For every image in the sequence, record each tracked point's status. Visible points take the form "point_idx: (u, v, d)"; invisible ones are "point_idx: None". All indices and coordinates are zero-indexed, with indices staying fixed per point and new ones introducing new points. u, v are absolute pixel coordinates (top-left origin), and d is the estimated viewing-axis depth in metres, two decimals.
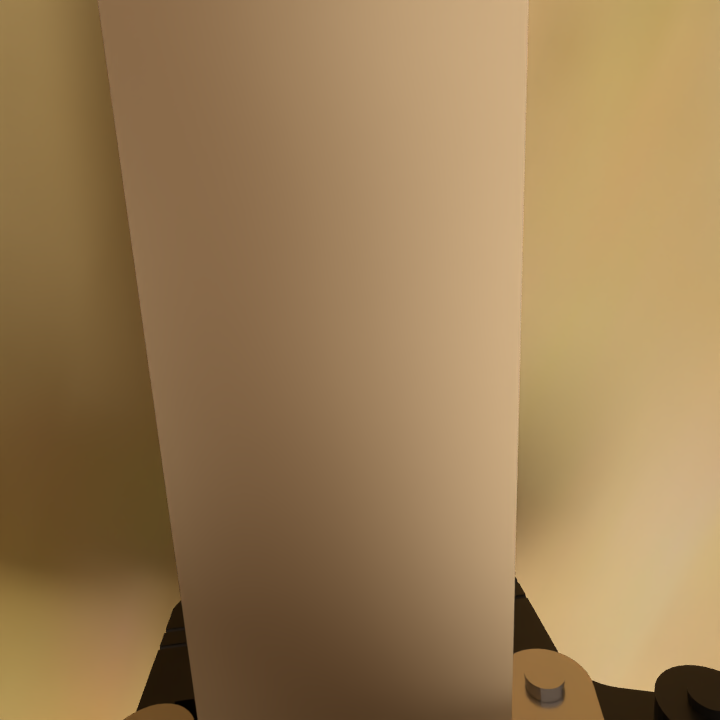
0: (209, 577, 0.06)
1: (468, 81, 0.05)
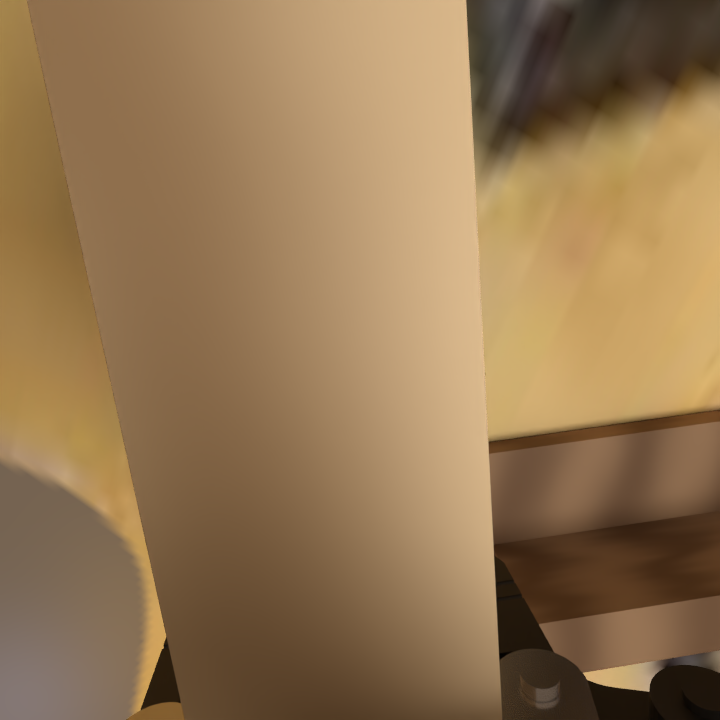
0: (185, 578, 0.06)
1: (409, 62, 0.05)
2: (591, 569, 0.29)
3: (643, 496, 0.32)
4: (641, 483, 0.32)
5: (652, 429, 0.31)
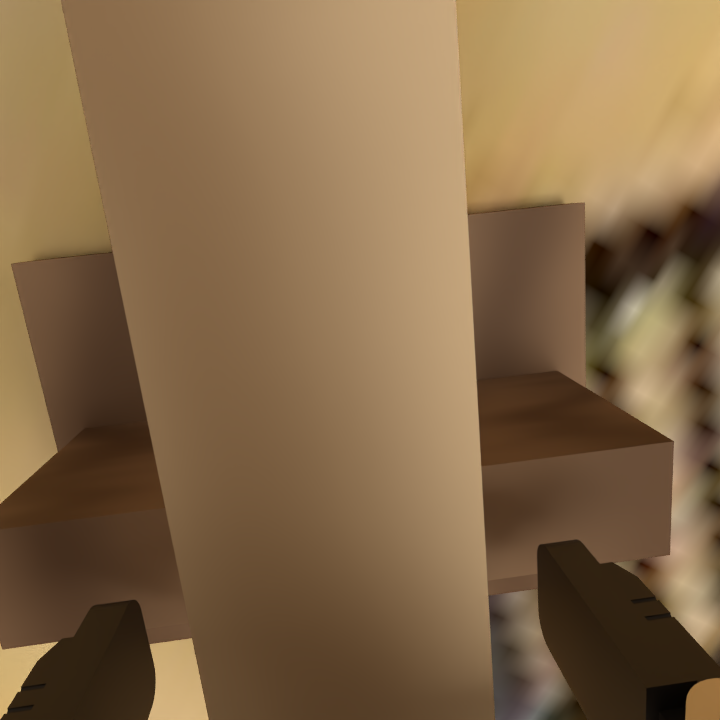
0: (202, 547, 0.06)
1: (406, 78, 0.05)
2: None
3: None
4: None
5: None
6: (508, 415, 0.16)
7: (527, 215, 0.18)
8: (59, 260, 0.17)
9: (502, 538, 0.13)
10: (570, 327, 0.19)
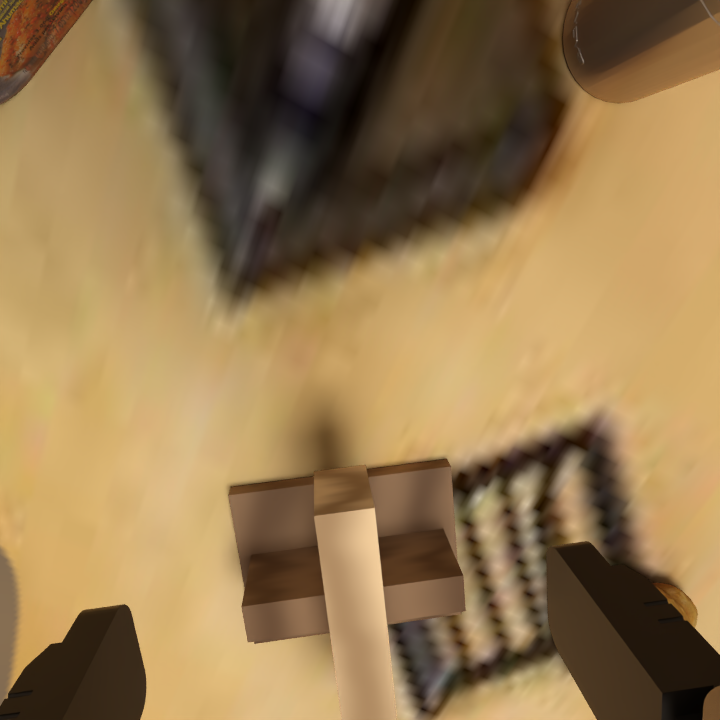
0: (333, 622, 0.34)
1: (370, 549, 0.33)
2: (301, 572, 0.43)
3: None
4: None
5: None
6: (416, 557, 0.44)
7: (428, 471, 0.46)
8: (246, 493, 0.45)
9: (408, 606, 0.41)
10: (447, 512, 0.47)
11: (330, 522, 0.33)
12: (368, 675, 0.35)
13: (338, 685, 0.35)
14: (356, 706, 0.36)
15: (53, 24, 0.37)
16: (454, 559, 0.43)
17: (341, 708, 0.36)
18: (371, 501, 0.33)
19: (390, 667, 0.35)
